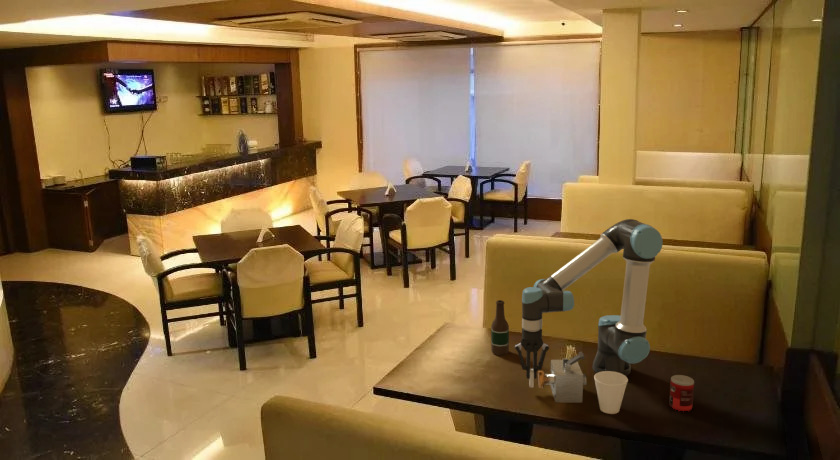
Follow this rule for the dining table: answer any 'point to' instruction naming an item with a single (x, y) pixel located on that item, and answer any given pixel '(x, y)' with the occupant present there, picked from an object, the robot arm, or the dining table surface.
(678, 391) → the canned food
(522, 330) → the robot arm
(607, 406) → the cup
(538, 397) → the dining table surface
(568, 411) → the dining table surface
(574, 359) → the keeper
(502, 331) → the beer bottle
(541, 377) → the pin
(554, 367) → the hitch block
